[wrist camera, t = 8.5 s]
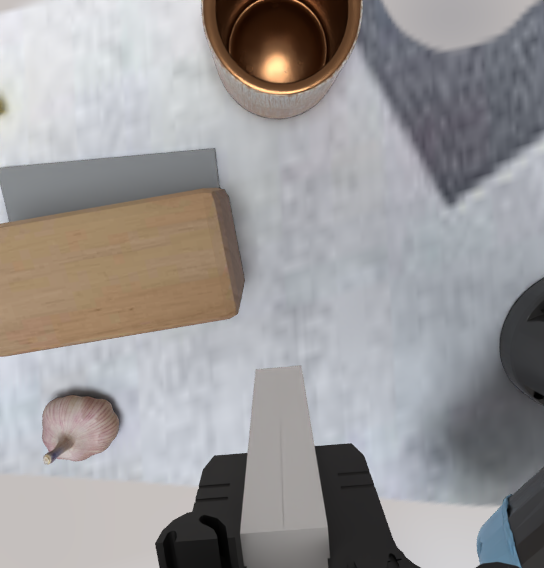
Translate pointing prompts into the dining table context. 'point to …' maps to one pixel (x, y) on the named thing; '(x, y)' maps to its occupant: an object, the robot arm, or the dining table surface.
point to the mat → (103, 181)
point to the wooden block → (118, 271)
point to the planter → (280, 50)
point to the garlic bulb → (78, 427)
